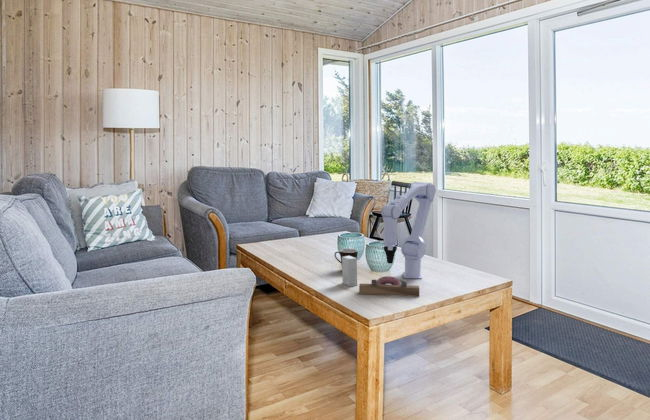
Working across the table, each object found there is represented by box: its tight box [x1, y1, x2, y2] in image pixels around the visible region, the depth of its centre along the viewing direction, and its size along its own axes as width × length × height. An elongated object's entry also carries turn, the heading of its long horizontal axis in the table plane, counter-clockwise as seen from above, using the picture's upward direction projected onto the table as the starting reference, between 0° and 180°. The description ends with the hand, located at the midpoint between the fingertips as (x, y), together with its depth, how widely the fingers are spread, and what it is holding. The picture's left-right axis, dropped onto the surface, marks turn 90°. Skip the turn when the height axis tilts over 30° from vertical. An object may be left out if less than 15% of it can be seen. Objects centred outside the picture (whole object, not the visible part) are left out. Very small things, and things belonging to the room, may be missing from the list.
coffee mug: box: [334, 248, 359, 265], centre depth 221 cm, size 12×9×10 cm
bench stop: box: [358, 279, 420, 297], centre depth 184 cm, size 3×24×6 cm, turn 82°
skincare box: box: [341, 256, 358, 287], centre depth 197 cm, size 6×4×12 cm
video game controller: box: [376, 275, 401, 285], centre depth 189 cm, size 10×5×7 cm, turn 83°
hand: (389, 263), depth 197 cm, fingers closed
